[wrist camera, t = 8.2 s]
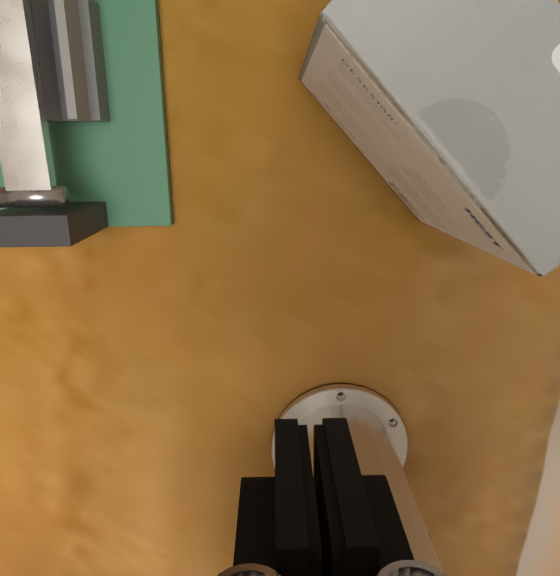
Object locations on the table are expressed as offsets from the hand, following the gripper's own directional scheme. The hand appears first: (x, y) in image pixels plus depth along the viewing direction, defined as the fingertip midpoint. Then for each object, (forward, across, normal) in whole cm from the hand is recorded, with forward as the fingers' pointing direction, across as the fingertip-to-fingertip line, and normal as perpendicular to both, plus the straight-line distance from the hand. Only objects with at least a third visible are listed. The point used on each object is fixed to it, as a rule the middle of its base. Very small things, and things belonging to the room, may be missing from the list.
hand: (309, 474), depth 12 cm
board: (+32, +17, -13) cm, 39 cm away
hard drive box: (+32, -9, -9) cm, 35 cm away
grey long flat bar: (+25, +17, -12) cm, 33 cm away
